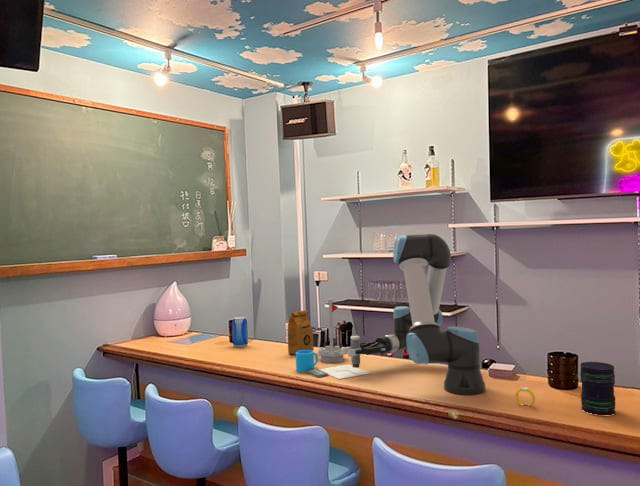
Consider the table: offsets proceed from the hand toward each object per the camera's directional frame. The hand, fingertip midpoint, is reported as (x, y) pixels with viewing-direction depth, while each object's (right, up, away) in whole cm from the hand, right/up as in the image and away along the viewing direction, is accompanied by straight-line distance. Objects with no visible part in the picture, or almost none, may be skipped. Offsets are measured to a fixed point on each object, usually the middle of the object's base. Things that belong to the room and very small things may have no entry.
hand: (345, 352), depth 216 cm
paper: (0, -10, +8) cm, 13 cm away
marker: (+5, -7, +3) cm, 9 cm away
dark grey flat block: (-12, -11, +6) cm, 17 cm away
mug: (-16, -11, +15) cm, 25 cm away
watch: (+59, -9, -42) cm, 73 cm away
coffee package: (-20, -11, +47) cm, 52 cm away
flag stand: (-5, -10, +32) cm, 34 cm away
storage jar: (+80, -9, -50) cm, 95 cm away
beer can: (-55, -12, +70) cm, 90 cm away
